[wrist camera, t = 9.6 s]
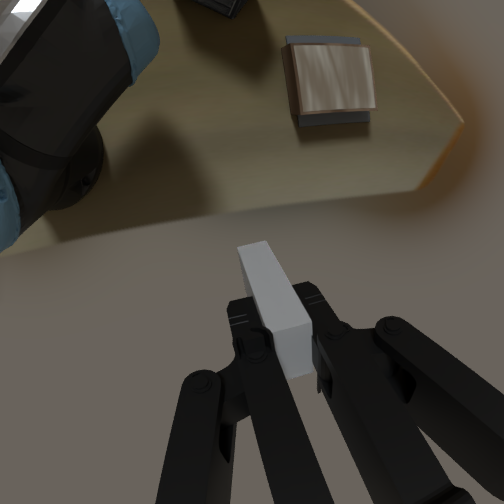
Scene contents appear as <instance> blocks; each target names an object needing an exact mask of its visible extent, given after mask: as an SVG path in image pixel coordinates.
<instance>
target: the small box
mask: <svg viewBox="0 0 504 504" xmlns="http://www.w3.org/2000/svg"><path fill="white" fill-rule="evenodd" d="M192 1H194V2H196V3H199V4H201V5H203V6H205V7H208V8H210V9H212V10H214V11H216V12H218V13H220V14H222V15H224V16H226V17H228V18H230V19H234V18H235V17H236V15H237V13H238V12H239V11H240V10H241V8H242V7H243V6H244V4H246V2H247V1H248V0H192Z"/></svg>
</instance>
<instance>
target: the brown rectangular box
mask: <svg viewBox="0 0 504 504" xmlns="http://www.w3.org/2000/svg"><path fill="white" fill-rule="evenodd" d="M281 51H282V57H283V63H284V69H285V76H286V82H287V89H288V96H289V103H290V110H291V115H307V114H319V113H332V112H350V111H378V108H377V97H376V88H375V79H374V71H373V64H372V57H371V51H370V45H358V44H342V43H289V44H288V45H286V46H285V47H283V48H281Z"/></svg>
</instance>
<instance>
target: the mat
mask: <svg viewBox="0 0 504 504" xmlns="http://www.w3.org/2000/svg"><path fill="white" fill-rule="evenodd" d="M286 42H287V45H288V44H289V43H342V44H358V45H361V43H360V38H353V37H338V36H286ZM297 116H298V124H299V127H306V126H316V125H327V124H339V123H354V122H370V115H369V111H350V112H332V113H319V114H307V115H297Z"/></svg>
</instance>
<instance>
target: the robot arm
mask: <svg viewBox="0 0 504 504" xmlns="http://www.w3.org/2000/svg"><path fill="white" fill-rule="evenodd" d="M159 45H160V37H159V33H158V30H157V28H156V26H155V24H154V22H153V20H152V18H151V16H150V15H149V13H148V12H147V10H146V9H145V7H144V6H143V5H142V3H141V2H140V1H139V0H0V253H1V252H2V251H3V250H5V249H6V248H9V247H10V246H12V245H13V244H14V242H15V241H16V240H17V239H18V237H19V236H20V235H21V234H22V233H23V232H24V231H25V230H27V229H28V228H29V227H30V226H31V225H32V224H33V223H34V222H35V221H37V220H38V219H39V218H40V217H41V216H42V215H43V214H45V213H46V212H47V211H49V210H60V209H64V208H67V207H70V206H72V205H74V204H75V203H77V202H78V201H79V200H81V199H82V198H83V197H84V196H85V195H86V194H87V193H88V192H89V191H90V190H91V189H92V187H93V186H94V184H95V183H96V181H97V179H98V177H99V174H100V171H101V168H102V163H103V143H102V138H101V135H100V132H99V130H98V128H97V126H96V125H97V123H98V122H99V121H100V120H101V118H102V117H103V116H104V115H105V113H106V112H107V111H108V110H109V108H110V107H111V106H112V105H113V104H114V102H115V101H116V100H117V99H118V98H119V97H120V95H121V94H122V93H123V92H124V91H125V90H126V89H127V87H128V86H129V87H131V86H132V85H133V84H134V83H135V81H136V80H137V77H138V75H139V74H140V73H141V72H142V71H143V70H144V69H145V68H146V66H147V65H148V64H149V63H150V62H151V61H152V60H153V59H154V58H155V56H156V55H157V53H158V49H159ZM237 249H238V254H239V259H240V264H241V269H242V274H243V280H244V285H245V290H246V293H247V296H248V297H246V298H242V299H238V300H233V301H230V302H229V305H228V307H227V313H228V318H229V323H230V328H231V332H232V337H233V347H234V351H235V358H234V360H233V361H232V363H231V364H230V365H229V366H227V367H226V368H224V369H222V370H220V371H218V372H217V373H215V372H213V371H211V370H198V371H195V372H193V373H191V374H189V376H187V377H186V378H185V380H184V382H183V384H182V387H181V391H180V395H179V399H178V403H177V407H176V412H175V416H174V420H173V425H172V429H171V433H170V438H169V442H168V446H167V451H166V455H165V460H164V465H163V470H162V474H161V478H160V483H159V488H158V493H157V498H156V503H155V504H230V498H231V485H232V474H233V462H234V450H235V437H236V426H237V422H238V421H240V420H242V419H244V418H246V417H247V416H249V415H251V419H252V423H253V427H254V431H255V434H256V439H257V443H258V446H259V450H260V454H261V458H262V461H263V465H264V469H265V472H266V476H267V480H268V483H269V487H270V490H271V494H272V497H273V501H274V504H334V501H333V499H332V496H331V494H330V491H329V489H328V486H327V484H326V481H325V479H324V476H323V474H322V471H321V468H320V466H319V463H318V461H317V458H316V456H315V453H314V451H313V448H312V445H311V443H310V441H309V438H308V435H307V433H306V430H305V427H304V425H303V422H302V420H301V417H300V414H299V412H298V409H297V407H296V404H295V402H294V399H293V396H292V393H291V391H290V388H289V386H288V383H287V380H288V379H292V378H295V377H299V376H302V375H306V374H309V373H312V372H313V365H314V367H315V369H316V371H317V391H318V393H320V392H321V389H322V392H323V394H324V396H325V398H326V401H327V403H328V405H329V407H330V409H331V411H332V414H333V415H334V418H335V420H336V422H337V424H338V427H339V429H340V431H341V433H342V435H343V437H344V440H345V442H346V444H347V446H348V448H349V451H350V453H351V455H352V457H353V459H354V461H355V463H356V466H357V468H358V470H359V472H360V475H361V477H362V479H363V481H364V483H365V485H366V488H367V490H368V492H369V494H370V496H371V499H372V501H373V503H374V504H476V503H475V501H474V500H473V498H472V496H471V495H470V494H469V492H467V491H466V490H465V489H463V488H459V487H455V486H454V485H453V484H452V483H451V481H450V480H449V478H448V476H447V475H446V473H445V471H444V470H443V468H442V466H441V465H440V463H439V461H438V459H437V458H436V456H435V455H434V453H433V451H432V450H431V448H430V446H429V445H428V443H427V441H426V440H425V438H424V436H423V435H422V433H421V432H420V430H419V428H420V429H421V430H422V431H423V432H424V433H425V434H426V435H428V436H429V437H430V438H431V439H432V440H433V441H434V442H435V443H436V444H437V445H438V446H439V447H441V449H442V450H443V451H445V452H446V453H447V454H448V455H449V456H450V457H451V458H452V459H453V460H454V461H455V462H456V463H458V464H459V465H460V466H461V467H462V468H463V469H464V470H465V471H466V472H467V473H468V474H469V475H470V476H471V477H473V478H474V479H475V480H476V481H477V482H478V483H479V484H480V485H481V486H482V487H483V488H484V489H486V490H487V491H488V492H490V493H491V494H492V495H493V496H495V497H497V498H498V499H500V500H502V501H504V395H503V394H502V393H501V392H500V391H498V390H497V389H496V388H495V387H493V386H492V385H491V384H489V383H488V382H487V381H486V380H484V379H483V378H482V377H480V376H479V375H478V374H477V373H475V372H474V371H472V370H471V369H470V368H468V367H467V366H466V365H465V364H463V363H462V362H461V361H459V360H458V359H457V358H455V357H454V356H453V355H452V354H450V353H449V352H447V351H446V350H445V349H443V348H442V347H441V346H439V345H438V344H437V343H435V342H434V341H433V340H431V339H430V338H429V337H427V336H426V335H424V334H423V333H422V332H420V331H419V330H417V329H416V328H415V327H413V326H412V325H411V324H409V323H408V322H406V321H405V320H403V319H402V318H400V317H395V316H388V317H384V318H382V319H380V320H379V321H378V322H377V323H376V326H375V328H369V329H354V328H352V327H351V326H350V325H349V324H348V323H345V322H343V321H340V320H339V319H338V317H337V316H336V314H335V313H334V311H333V310H332V308H331V307H330V306H329V304H328V302H327V301H326V300H325V298H324V296H323V295H322V294H321V292H320V291H319V289H318V288H317V286H315V285H314V284H312V283H310V282H308V281H307V282H303V283H299V284H295V285H291V284H290V282H289V280H288V279H287V277H286V275H285V273H284V271H283V269H282V268H281V266H280V264H279V263H278V261H277V259H276V257H275V256H274V254H273V252H272V251H271V249H270V247H269V245H268V243H267V242H266V241H262V242H257V243H253V244H249V245H244V246H240V247H237ZM417 426H418V427H419V428H418V427H417Z"/></svg>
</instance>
